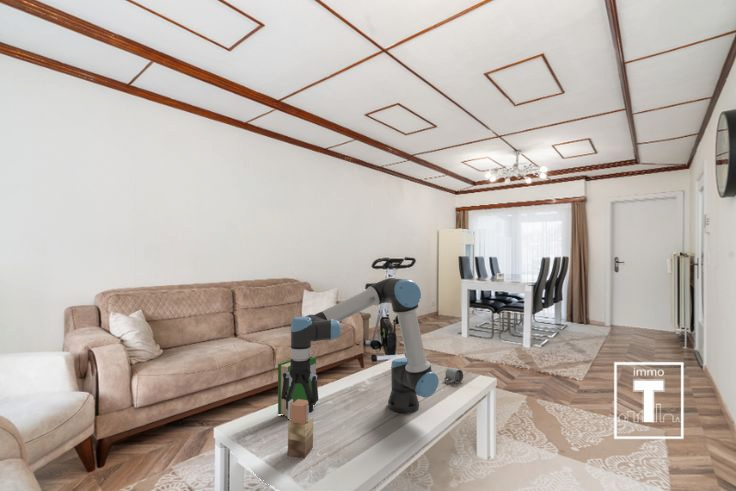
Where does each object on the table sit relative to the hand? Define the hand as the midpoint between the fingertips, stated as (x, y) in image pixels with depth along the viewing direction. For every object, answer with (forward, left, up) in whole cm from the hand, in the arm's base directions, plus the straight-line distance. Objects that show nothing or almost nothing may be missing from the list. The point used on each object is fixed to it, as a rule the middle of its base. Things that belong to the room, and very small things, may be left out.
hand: (299, 419), depth 137 cm
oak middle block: (0, 0, -6) cm, 6 cm away
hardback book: (+17, -32, -13) cm, 38 cm away
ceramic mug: (-54, -91, -13) cm, 107 cm away
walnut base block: (0, 0, -12) cm, 12 cm away
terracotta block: (-1, 0, 0) cm, 1 cm away
